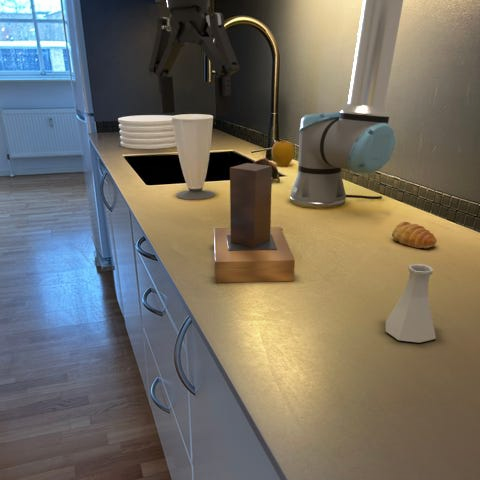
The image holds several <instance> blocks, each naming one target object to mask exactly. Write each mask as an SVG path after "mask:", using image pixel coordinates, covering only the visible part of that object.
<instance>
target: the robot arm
mask: <svg viewBox="0 0 480 480" xmlns="http://www.w3.org/2000/svg"><path fill="white" fill-rule="evenodd" d="M210 3H211V2H210V0H166V7H167V9H168V10H169V12H170V15H169V17H167V16H159V17H157V18H156V34H155V39H154V43H153V48H152V53H151V56H150V61H149V65H148V72H149V73H150V74H154V75H156V77H157V84H158V93H159V95H160V96H161V108H162V114H171V113H176V108H175V96H174V95H175V93H174V81H173V76H172V74H171V71H172V68H173V66H174V65H175V62H176V60H177V59H178V56H179V54H180V52H181V50H182V48H183V47H184V46H186V45H191V44H197V46H199V47H200V48H201V49H202V51H203V52H204V54H205V56H206V58H207V59H208V61H209V62H210V64H211V65H212V67H213V68H214V70H215V72H216V73H217V74H216V76H214V94H215V95H214V96H215V117H223V116H224V117H225V116H228V115H229V96H231V94H232V93H231V92H232V91H231V88H232V87H231V76H232V75H233V74H235V73H239V72H240V64H239V62H238V59H237V56H236V53H235V51H234V48H233V46H232V43H231V41H230V38H229V35H228V33H227V30H226V28H225V19H224V14H223V13H222V12H210V13H209V11H208V10H209V8H210V5H211V4H210ZM403 4H404V0H362V5H361V12H360V19H359V26H358V31H357V39H356V44H355V51H354V57H353V58H354V59H353V66H352V72H351V79H350V85H349V92H348V97H347V104H345V106H343V108H342V109H340V110H339V111H335V112H324V113H323V112H322V113H311V114H305V115H303V116H302V118H301V119H300V126H299V131H298V132H299V138H298V140H299V141H298V161H297V162H298V165H297V174H296V177H295V180H294V183H293V186H292V187H291V192H290V195H289V202H290V203H291V204H293V205H295V206H298V207H302V208H309V209H334V208H339V207H342V206H345V204H346V201H347V198H350V199H363V200H382V199H383V196H382V195H378V196H376V195H375V196H373V195H372V196H371V195H360V194H359V195H358V194H346V190H345V185H344V180H343V177H342V176H343V175H342V170H346V171H351V172H353V173H355V174H367V175H369V174H373V173H376V172H378V171H380V170H381V169H382V168H383V167H384V166H385V165H386V164H387V163H388V162H389V160H390V159H391V157H392V155H393V152H394V151H395V146H396V134H395V130H394V129H393V127H392V126H390V124H389V121H390V114H389V112H388V111H387V109H386V107H385V105H386V100H387V94H388V88H389V84H390V77H391V72H392V67H393V61H394V55H395V50H396V49H395V48H396V44H397V39H398V32H399V27H400V22H401V15H402V12H403V11H402V10H403ZM209 28H210V31H211V33H210V32H209V30H208V29H209ZM211 34H212V35H211Z"/></svg>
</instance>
